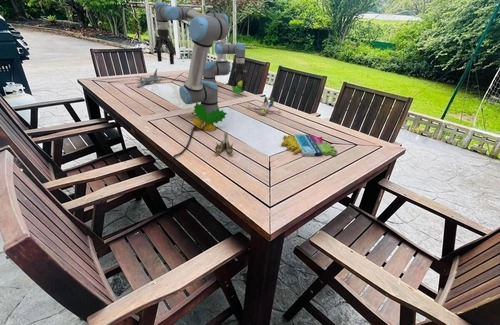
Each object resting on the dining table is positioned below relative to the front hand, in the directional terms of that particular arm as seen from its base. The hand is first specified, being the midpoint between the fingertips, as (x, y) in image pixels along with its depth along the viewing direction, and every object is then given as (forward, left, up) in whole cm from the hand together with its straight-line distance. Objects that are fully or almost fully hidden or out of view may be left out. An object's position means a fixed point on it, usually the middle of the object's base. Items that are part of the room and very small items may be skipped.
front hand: (165, 62), depth 184 cm
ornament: (-49, -24, -31) cm, 63 cm away
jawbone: (-82, -27, -31) cm, 91 cm away
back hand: (+26, -60, -26) cm, 71 cm away
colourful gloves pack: (-82, -75, -31) cm, 115 cm away
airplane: (+74, +18, -31) cm, 82 cm away
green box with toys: (+26, -60, -28) cm, 72 cm away
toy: (-16, -72, -31) cm, 80 cm away
